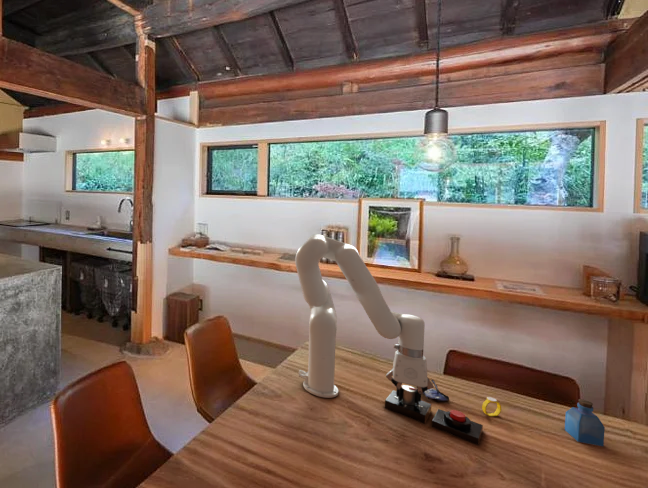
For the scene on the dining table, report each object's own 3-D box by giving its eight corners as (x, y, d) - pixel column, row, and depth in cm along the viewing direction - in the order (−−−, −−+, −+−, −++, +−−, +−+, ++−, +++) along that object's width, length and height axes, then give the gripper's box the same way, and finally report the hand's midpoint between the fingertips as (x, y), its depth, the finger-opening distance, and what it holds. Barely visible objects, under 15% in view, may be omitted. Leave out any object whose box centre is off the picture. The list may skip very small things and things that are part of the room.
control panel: (384, 408, 141) (385, 399, 141) (392, 397, 148) (393, 389, 147) (424, 424, 132) (425, 414, 132) (431, 412, 139) (431, 403, 139)
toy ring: (495, 413, 139) (496, 396, 139) (503, 417, 136) (504, 401, 136) (479, 413, 139) (480, 396, 139) (486, 418, 136) (487, 401, 136)
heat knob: (401, 403, 139) (402, 388, 139) (400, 397, 143) (400, 382, 143) (416, 406, 137) (417, 392, 137) (414, 400, 141) (415, 386, 140)
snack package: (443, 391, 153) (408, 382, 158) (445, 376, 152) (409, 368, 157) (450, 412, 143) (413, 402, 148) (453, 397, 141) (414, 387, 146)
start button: (448, 418, 130) (449, 413, 130) (451, 413, 132) (451, 408, 132) (464, 424, 127) (464, 418, 127) (466, 418, 129) (466, 413, 129)
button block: (431, 426, 131) (432, 415, 130) (438, 414, 137) (438, 403, 137) (478, 445, 122) (478, 432, 122) (482, 431, 129) (483, 419, 129)
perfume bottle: (588, 434, 128) (591, 398, 128) (603, 446, 123) (605, 409, 122) (564, 429, 130) (566, 394, 130) (577, 441, 125) (580, 405, 124)
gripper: (383, 349, 140) (381, 399, 140) (441, 360, 132) (439, 413, 132) (382, 341, 146) (380, 389, 147) (437, 352, 139) (435, 402, 139)
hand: (408, 400), depth 140 cm, fingers closed on heat knob, 4 cm apart
